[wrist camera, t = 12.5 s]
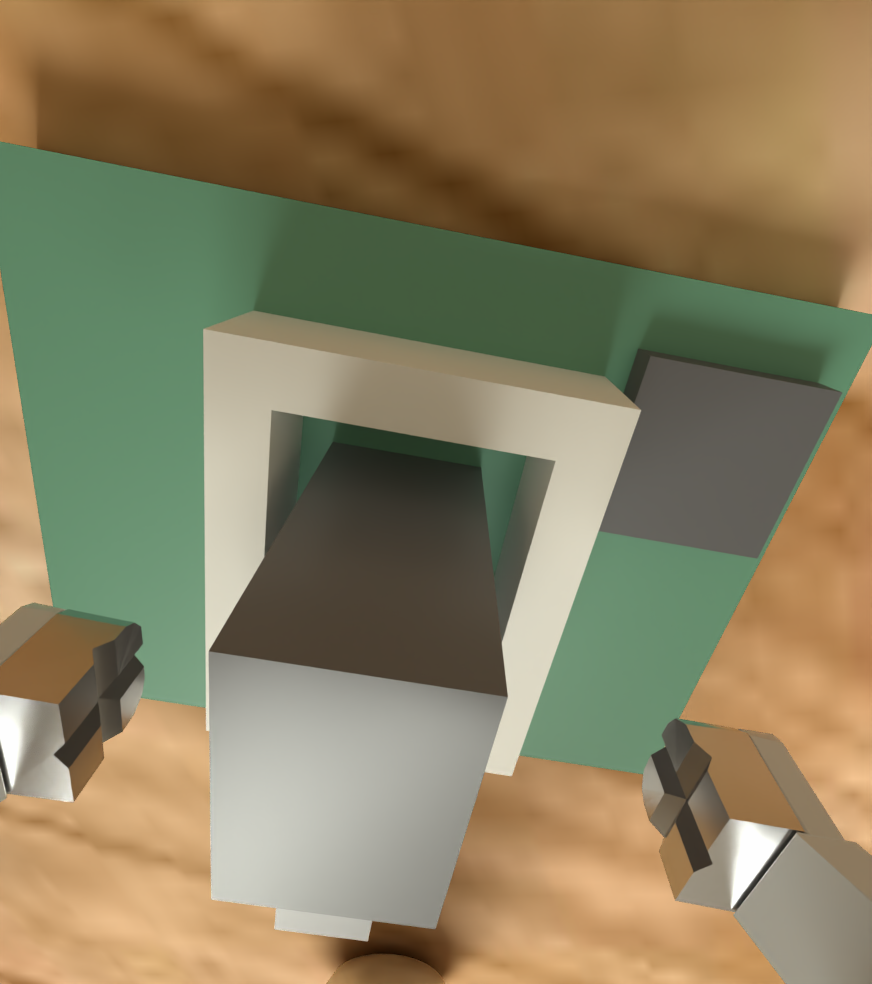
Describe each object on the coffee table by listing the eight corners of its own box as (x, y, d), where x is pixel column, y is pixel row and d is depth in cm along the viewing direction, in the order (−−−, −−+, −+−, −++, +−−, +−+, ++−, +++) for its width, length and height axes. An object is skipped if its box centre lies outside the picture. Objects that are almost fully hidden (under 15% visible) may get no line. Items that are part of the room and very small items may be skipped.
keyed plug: (481, 467, 13) (507, 697, 6) (439, 650, 15) (429, 950, 9) (332, 441, 13) (207, 651, 6) (314, 630, 15) (211, 920, 9)
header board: (838, 308, 12) (998, 338, 9) (635, 735, 18) (679, 857, 15) (35, 148, 11) (-157, 108, 8) (95, 651, 17) (2, 760, 14)
